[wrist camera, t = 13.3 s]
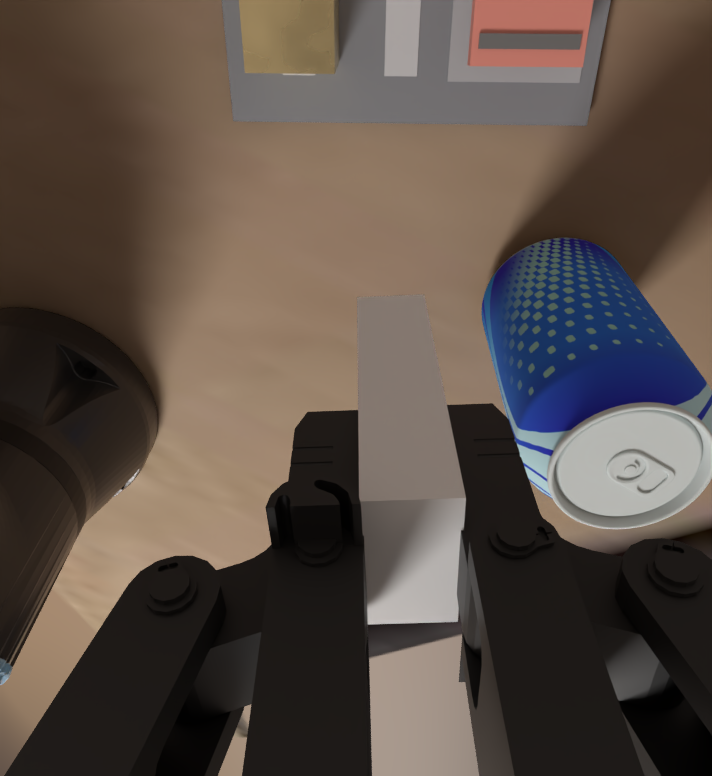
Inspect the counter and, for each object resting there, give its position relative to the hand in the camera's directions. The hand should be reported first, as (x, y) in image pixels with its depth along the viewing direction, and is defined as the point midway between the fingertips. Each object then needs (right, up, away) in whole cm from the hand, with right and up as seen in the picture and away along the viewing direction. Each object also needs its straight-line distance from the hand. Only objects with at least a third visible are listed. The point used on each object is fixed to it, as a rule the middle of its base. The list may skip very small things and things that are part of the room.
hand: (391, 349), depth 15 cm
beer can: (+11, +5, +25) cm, 27 cm away
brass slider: (-4, +17, +16) cm, 23 cm away
